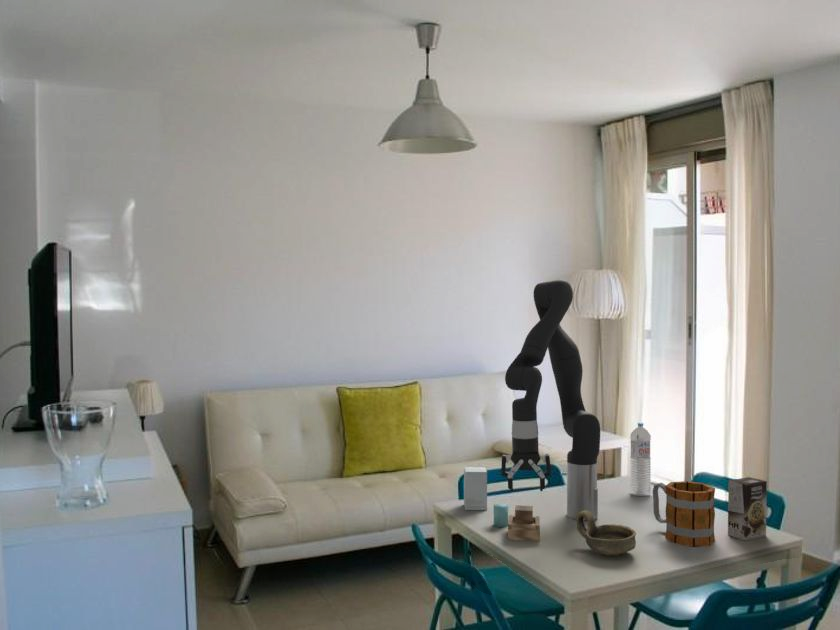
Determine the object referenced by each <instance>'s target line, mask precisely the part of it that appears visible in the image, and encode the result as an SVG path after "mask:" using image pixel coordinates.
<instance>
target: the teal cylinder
mask: <svg viewBox="0 0 840 630" xmlns="http://www.w3.org/2000/svg"><path fill="white" fill-rule="evenodd" d="M508 518H509V504H507V503H494V504H493V526H494V527H497V528H508Z"/></svg>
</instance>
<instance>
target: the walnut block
mask: <svg viewBox="0 0 840 630" xmlns="http://www.w3.org/2000/svg"><path fill="white" fill-rule="evenodd" d="M533 507H534V505H515V508H514V509H515V510H514V515H515V523H517V524H533V516H534V514H533V513H534V511H533V510H534V508H533Z"/></svg>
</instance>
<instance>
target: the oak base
mask: <svg viewBox="0 0 840 630" xmlns="http://www.w3.org/2000/svg"><path fill="white" fill-rule="evenodd" d="M540 523H541V522H540V516H537V515H536V516H535V515H533V524H517V523H515V514H514V515H513V514H511V515H510V514H508V526H507V540H508V541H528V542H529V541H530V542H531V541H532V542H533V541H534V542H535V541H536V542H540V541H541V525H540Z"/></svg>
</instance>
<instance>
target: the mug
mask: <svg viewBox="0 0 840 630" xmlns="http://www.w3.org/2000/svg"><path fill="white" fill-rule="evenodd" d="M659 487H660V488H661V489H662V491H663V492H664V493H665V495H666V496H665V497H666V501H665V502H666V503H665V518H662V517H661V514H660V499H659ZM715 492H716V488H715V487H713V486H711V485H709V484H707V483H703V482H694V481H689V480H688V481H687V480H684V481H683V480H682V481H670V482H668V483H667V484H664V482H659V483H655V484H654V485H653V488H652V500H653V501H652V505H653V506H652V507H653V516H654V518H655V520H656V521H657V522H658V523H660V524H666V526H665V527H666V531H665V535H664V536H665V537H664V538H665V539H667V540H668V541H670V542H671V543H673V544H675V545H681V546H687V547H690V548H691V547H692V548H698V547H710V546H712V545H713V544H714V543H715V541H716V537H715V518H716V511H715Z"/></svg>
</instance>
